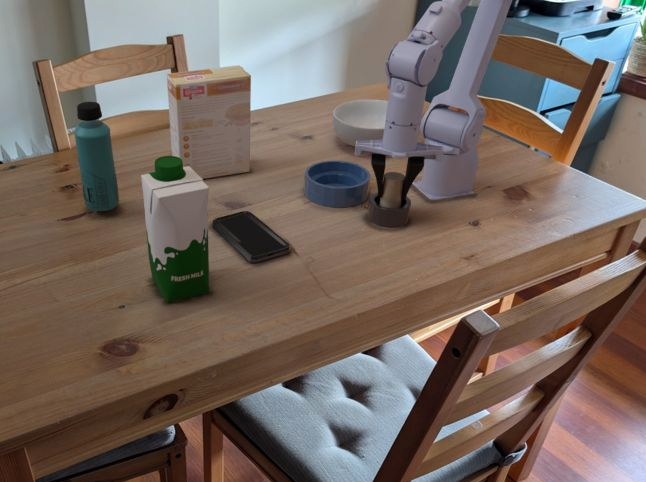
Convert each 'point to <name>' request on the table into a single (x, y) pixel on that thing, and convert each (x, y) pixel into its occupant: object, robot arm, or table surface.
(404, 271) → the table surface
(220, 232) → the phone
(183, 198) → the milk carton
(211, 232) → the table surface
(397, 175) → the pestle
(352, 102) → the cereal bowl
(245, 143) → the coffeecake box
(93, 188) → the beverage bottle
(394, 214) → the mortar
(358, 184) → the bowl
